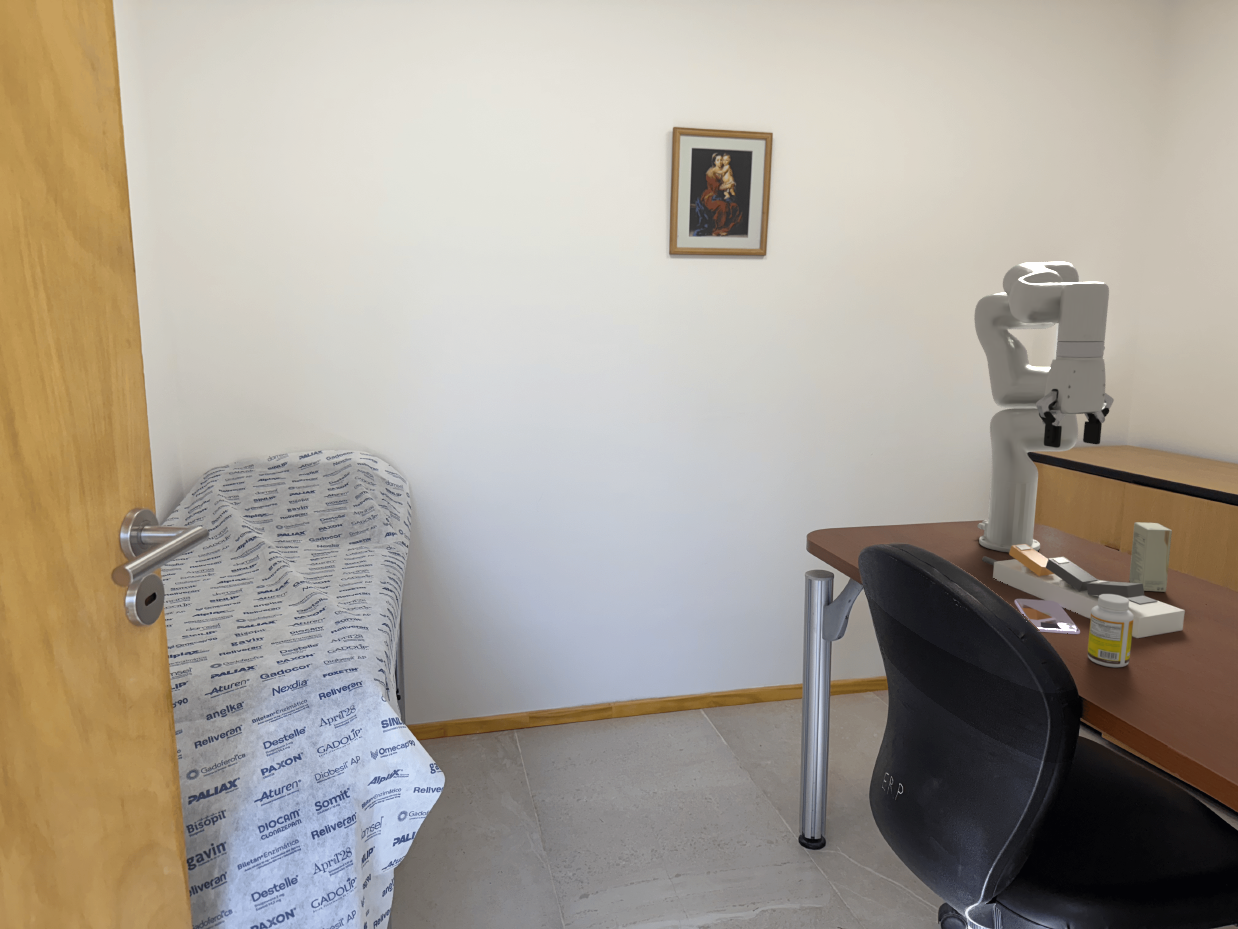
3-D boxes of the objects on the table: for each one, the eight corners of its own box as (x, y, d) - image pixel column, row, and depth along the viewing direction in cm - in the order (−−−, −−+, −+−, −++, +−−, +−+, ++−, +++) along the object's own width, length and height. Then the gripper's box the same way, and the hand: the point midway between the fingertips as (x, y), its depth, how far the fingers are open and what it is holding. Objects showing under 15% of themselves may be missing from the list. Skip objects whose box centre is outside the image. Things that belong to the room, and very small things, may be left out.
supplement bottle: (1111, 652, 126) (1118, 591, 124) (1137, 667, 120) (1144, 603, 119) (1078, 654, 125) (1084, 592, 124) (1102, 670, 120) (1109, 605, 118)
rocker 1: (1008, 554, 158) (1011, 544, 157) (1023, 552, 159) (1026, 543, 158) (1039, 576, 151) (1042, 566, 150) (1053, 574, 152) (1057, 564, 151)
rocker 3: (1087, 594, 141) (1086, 582, 141) (1103, 592, 142) (1101, 580, 142) (1128, 597, 133) (1126, 585, 133) (1144, 595, 134) (1142, 582, 134)
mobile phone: (1058, 599, 147) (1082, 631, 133) (1057, 605, 147) (1082, 636, 133) (1013, 596, 149) (1032, 627, 135) (1012, 601, 149) (1032, 632, 135)
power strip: (964, 567, 169) (966, 546, 168) (1003, 561, 172) (1004, 541, 171) (1137, 638, 131) (1140, 611, 130) (1182, 630, 134) (1185, 604, 133)
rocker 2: (1045, 567, 149) (1048, 557, 148) (1060, 565, 150) (1063, 555, 149) (1079, 591, 142) (1082, 581, 141) (1094, 589, 143) (1098, 579, 142)
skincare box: (1166, 592, 152) (1174, 530, 149) (1141, 591, 152) (1148, 529, 150) (1151, 581, 158) (1158, 522, 155) (1127, 580, 159) (1133, 521, 156)
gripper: (1098, 349, 151) (1090, 439, 154) (1025, 352, 146) (1018, 445, 149) (1134, 350, 144) (1125, 444, 147) (1059, 353, 139) (1051, 451, 142)
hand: (1071, 444), depth 148 cm, fingers open, 9 cm apart
